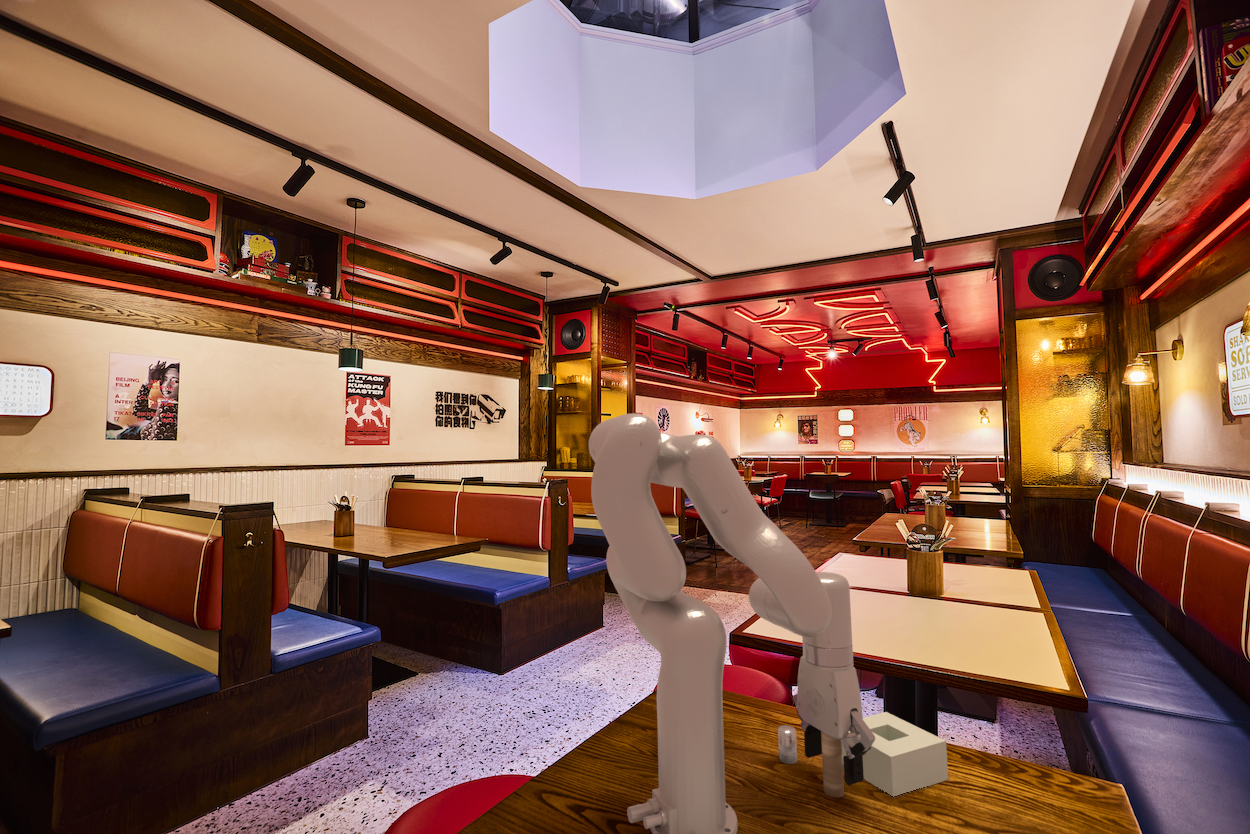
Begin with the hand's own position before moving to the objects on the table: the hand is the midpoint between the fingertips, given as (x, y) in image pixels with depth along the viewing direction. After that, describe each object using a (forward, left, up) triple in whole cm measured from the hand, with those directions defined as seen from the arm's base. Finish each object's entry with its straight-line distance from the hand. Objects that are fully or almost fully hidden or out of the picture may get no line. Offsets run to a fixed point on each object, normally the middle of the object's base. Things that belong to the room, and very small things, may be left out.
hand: (833, 767), depth 90 cm
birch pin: (0, 0, -4) cm, 4 cm away
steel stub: (0, +11, -4) cm, 12 cm away
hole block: (+13, +1, -4) cm, 13 cm away
